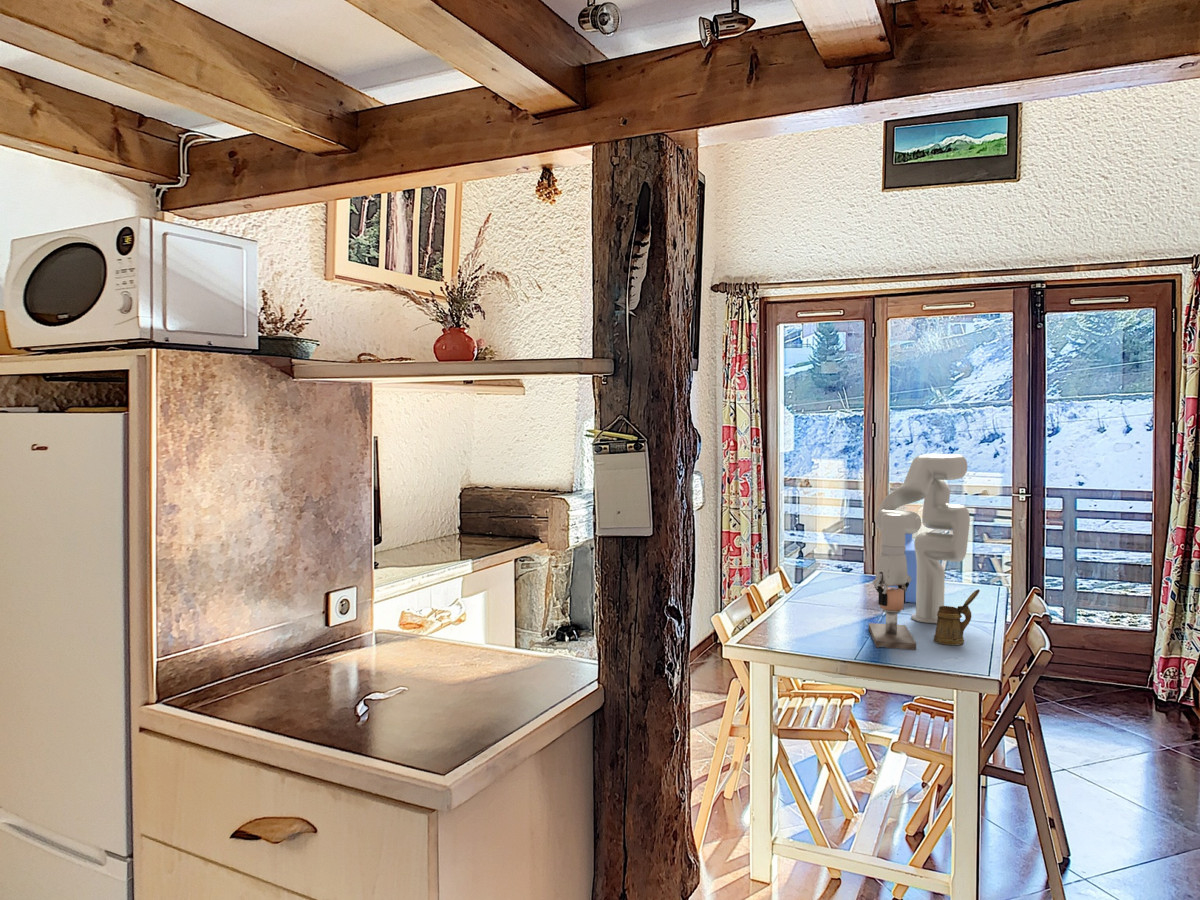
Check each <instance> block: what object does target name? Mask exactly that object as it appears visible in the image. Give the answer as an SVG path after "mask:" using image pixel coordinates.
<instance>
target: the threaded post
mask: <svg viewBox="0 0 1200 900" xmlns="http://www.w3.org/2000/svg"><path fill="white" fill-rule="evenodd" d="M901 611H902V610H886V609H882V612H885V624H886V633H888V634H897V625H898V614H899V613H901Z"/></svg>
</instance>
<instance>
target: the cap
mask: <svg viewBox="0 0 1200 900" xmlns="http://www.w3.org/2000/svg"><path fill="white" fill-rule="evenodd" d="M885 594H887V606H882V605H879V608H880V609H882V610H883V609H886V610H901V611H903V610H905V609H904V607H905V604H904V590H903V589H899V588H895V587H892V588H888V589H887V591H886V593H885Z"/></svg>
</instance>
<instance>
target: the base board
mask: <svg viewBox="0 0 1200 900" xmlns="http://www.w3.org/2000/svg"><path fill="white" fill-rule="evenodd" d="M868 631H869V633H871V634H870V636H871V638H873V639H872V641H873V640H874V641H873V643H874V646H875V645H876V646H875V647H876V648H879V647H886V648H885V649H896V648H899V650H913V651H914V650H917V642H916V641H915V639H914V637H913V635H912V634H911V632H910V631H909V629H908V627H907V625H905V624H897V634H888V633H886V623H876V622H875V623H872V622H868Z"/></svg>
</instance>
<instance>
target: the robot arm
mask: <svg viewBox="0 0 1200 900" xmlns="http://www.w3.org/2000/svg"><path fill="white" fill-rule="evenodd" d="M967 472H968V462H967V458H966V457H965V456H964V455H961V454H950V453H949V454H945V453H943V454H942V453H923V454H921V455H917V456H915V457H914V458H913V459H912V462H911V464H910V466H909V469H908V472H907V474H906V476H905V479H904V481H903V484H902V485H901V486H899V487H898V488H896V489H895V490H893V491H891V492H890V493H889V494H888V495H886V496H885V497H884V498H883V499H882V501H881V503H880V505H879V508H878V510H877V513H876V516H875V525H876V527H877V529H878V530H879V531H880V554H879V555H878V557H877V561H876V562H877V563H876V569H875V570H876V571H875V578H874V579H873V580H872V584H873V586H874V589H875V590H876V592H877V593H878V602H877V603H878V605H879V606H880V605H882V606H887V594H885V593H886V591H887V589H888V587H889V586H896V585H897V588H899V589H903V590H904V605H905V604H906V602H905V591H907V587H908V586H909V583H910V581H911V577H910V576H909V575H908V574H907V561H906V555H905V549H906V548H905V534H912V535H913V534H915V533H917V532H919V530H920V529H921V527H922V525H923V526H924V528H925V527H926V528H927V529H930V530H931V529H932V530H938V531H939V530H940V531H951V532H952V534H951V533H950V534H949V533H941V532H931V531H929V532H928V531H927V532H926V531H925V532H921V533H918V534H917V535H916V537H915V538H914V540H913V541H914V547H915V554H916V563H917V578H916V603H915V612H914V613H911V614H910V616H911V617H910V618H911V619H912V620H913V621H916V622H919V623H926V624H937V619H938V616H937V612H938V611H939V607H940V606H945V589H946V588H945V582H946V580H945V579H946V572H945V569H944V567H943V565H942V564H941V562H940V561H946V562H955V563H958V562H962V561H963V560H965V558H966V554H967V549H968V542H969V532H970V520H971V517H970V512H969V510H968V508H967V507H966V506H965V505H962V504H952V503H950V495H951V490H950V488H949V485H948V484H947V483H946V481H954V480H960V479H962V478H963V477H965V475H966V473H967ZM921 500H923V505H922V506H923V507H922V515H919V514H918V513H917V512H913V511H910V510H909V511H908V510H899V509H898V508H900V507H902V506H906V505H908V504H909V505H910V504H912V503H916V502H920V501H921ZM897 509H898V510H897Z"/></svg>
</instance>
